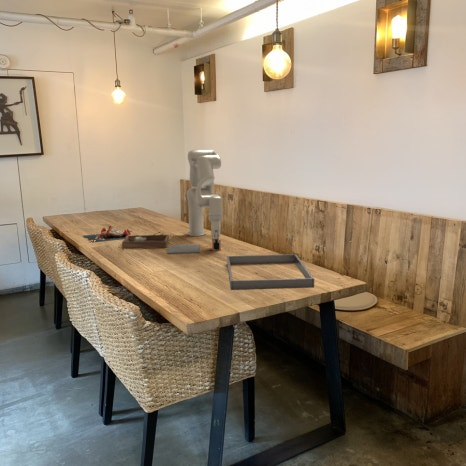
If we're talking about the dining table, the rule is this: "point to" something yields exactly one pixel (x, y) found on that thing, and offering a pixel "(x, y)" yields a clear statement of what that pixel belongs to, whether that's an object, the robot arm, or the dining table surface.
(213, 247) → the terracotta block
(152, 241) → the walnut tray
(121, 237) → the platter
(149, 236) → the reed diffuser
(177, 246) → the slate mat
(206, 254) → the dining table surface
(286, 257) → the charcoal rectangular open frame
